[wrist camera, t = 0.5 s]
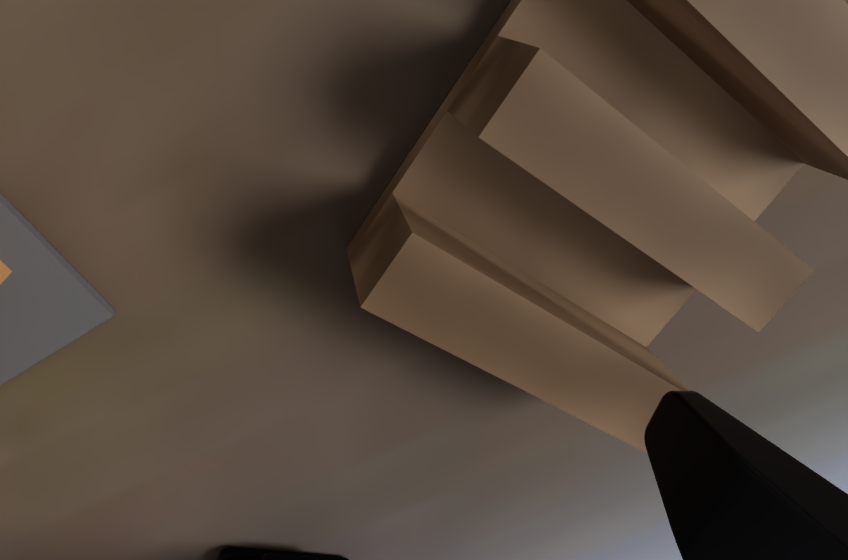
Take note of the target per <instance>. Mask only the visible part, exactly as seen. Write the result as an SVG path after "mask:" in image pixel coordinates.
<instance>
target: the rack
mask: <svg viewBox="0 0 848 560" xmlns="http://www.w3.org/2000/svg"><path fill="white" fill-rule="evenodd" d="M803 164H807V165H810V166H812V167H815V168H818V169H821V170H823V171H826V172H829V173H832V174H834V175H837V176H840V177H842V178H845V179H848V4H847V3H846V1H845V0H511V1H510V2H509V4H508V5H507V7H506V8H505V10H504V11H503V13H502V14H501V16H500V17H499V19H498V20H497V22H496V23H495V25H494V26H493V28H492V29H491V31H490V32H489V34H488V36H487V37H486V39H485V40H484V42H483V43H482V45H481V46H480V48H479V49H478V51H477V52H476V54H475V55H474V57H473V58H472V60H471V61H470V63H469V64H468V66H467V67H466V69H465V70H464V72H463V73H462V75H461V76H460V78H459V79H458V81H457V82H456V84H455V85H454V87H453V88H452V90H451V91H450V93H449V94H448V96H447V97H446V99H445V100H444V102H443V103H442V105H441V106H440V108H439V109H438V111H437V112H436V114H435V115H434V117H433V118H432V120H431V121H430V123H429V124H428V126H427V127H426V129H425V130H424V132H423V133H422V135H421V136H420V138H419V139H418V141H417V142H416V144H415V145H414V147H413V148H412V150H411V151H410V153H409V154H408V156H407V157H406V159H405V160H404V162H403V163H402V165H401V166H400V168H399V169H398V171H397V172H396V174H395V175H394V177H393V178H392V180H391V181H390V183H389V184H388V186H387V187H386V189H385V190H384V192H383V193H382V195H381V196H380V198H379V199H378V201H377V202H376V204H375V205H374V207H373V208H372V210H371V211H370V213H369V214H368V216H367V217H366V219H365V220H364V222H363V223H362V225H361V226H360V228H359V229H358V231H357V232H356V234H355V235H354V237H353V238H352V240H351V241H350V243H349V244H348V246H347V247H346V249H347V253H348V258H349V262H350V266H351V270H352V274H353V279H354V283H355V287H356V291H357V295H358V299H359V304H360V307H361V308H363V309H364V310H366V311H368V312H370V313H372V314H374V315H376V316H378V317H380V318H382V319H384V320H386V321H388V322H390V323H392V324H394V325H396V326H398V327H400V328H402V329H404V330H406V331H408V332H410V333H412V334H414V335H416V336H418V337H420V338H421V339H423V340H425V341H427V342H429V343H431V344H433V345H435V346H437V347H439V348H441V349H443V350H445V351H447V352H449V353H451V354H453V355H455V356H457V357H459V358H461V359H463V360H465V361H467V362H469V363H471V364H473V365H475V366H477V367H478V368H480V369H482V370H484V371H486V372H488V373H490V374H492V375H494V376H496V377H498V378H500V379H502V380H504V381H506V382H508V383H510V384H512V385H514V386H516V387H518V388H520V389H522V390H524V391H526V392H528V393H530V394H532V395H534V396H535V397H537V398H539V399H541V400H543V401H545V402H547V403H549V404H551V405H553V406H555V407H557V408H559V409H561V410H563V411H565V412H567V413H569V414H571V415H573V416H575V417H577V418H579V419H581V420H583V421H585V422H587V423H589V424H591V425H592V426H594V427H596V428H598V429H600V430H602V431H604V432H606V433H608V434H610V435H612V436H614V437H616V438H618V439H620V440H622V441H624V442H626V443H628V444H630V445H632V446H634V447H636V448H638V449H640V450H642V451H644V452H646V453H647V450H646V447H645V441H644V433H645V429H646V427H647V425H648V423H649V421H650V419H651V417H652V415H653V413H654V411H655V410H656V408H657V406H658V404H659V402H660V400H661V398H662V397H663V395H664V394H666V393H667V392H668V391H688V390H687V389H686V388H685V387H684V386H683V384H682V383H681V382H680V381H679V380H678V379H677V378H676V377H675V376H674V375H673V374H672V373H671V372H670V371H669V370H668V369H667V368H666V367H665V366H664V365H663V364H662V363H661V362H660V361H659V360H658V359H657V358H656V357H655V356H654V355H653V354H652V353H651V352H650V351H649V350H648V349H647V346H648V345H649V344H650V342H651V341H652V340H653V339H654V338H655V337H656V335H657V334H658V333H659V332H660V331H661V330H662V328H663V327H664V326H665V325H666V324H667V323H668V321H669V320H670V319H671V318H672V317H673V316H674V314H675V313H676V312H677V311H678V310H679V309H680V307H681V306H682V305H683V304H684V303H685V302H686V300H687V299H688V298H689V297H690V296H691V295H692V293H693V292H694V291H695V290H696V289H697V290H699V291H700V292H701V293H703V294H704V295H706V296H707V297H709V298H710V299H712V300H713V301H714V302H716V303H717V304H719V305H720V306H722V307H723V308H724V309H726V310H727V311H729V312H730V313H732V314H733V315H734V316H736V317H737V318H739V319H740V320H742V321H743V322H745V323H746V324H747V325H749V326H750V327H752V328H753V329H755V330H756V331H757V332H759V331H760V330H761V329H762V328H763V327H764V326H765V325H766V324H767V323H768V322H769V320H770V319H771V318H772V317H773V316H774V315H775V314H776V313H777V312H778V311H779V309H780V308H781V307H782V306H783V305H784V304H785V303H786V302H787V301H788V300H789V299H790V297H791V296H792V295H793V294H794V293H795V292H796V291H797V290H798V289H799V288H800V286H801V285H802V284H803V283H804V282H805V281H806V280H807V279H808V278H809V277H810V275H811V274H812V273H813V272H814V271H815V270H814V269H812V268H811V267H810V266H809V265H807V264H806V263H805V262H804V261H803V260H801V259H800V258H799V257H798V256H796V255H795V254H794V253H793V252H791V251H790V250H789V249H788V248H786V247H785V246H784V245H783V244H782V243H780V242H779V241H778V240H777V239H775V238H774V237H773V236H772V235H770V234H769V233H768V232H767V231H765V230H764V229H763V228H762V227H761V226H759V225H758V224H757V223H756V222H754V221H755V220H756V219H757V218H758V217H759V215H760V214H761V213H762V212H763V211H764V210H765V208H766V207H767V206H768V205H769V204H770V203H771V201H772V200H773V199H774V198H775V197H776V196H777V194H778V193H779V192H780V191H781V190H782V189H783V187H784V186H785V185H786V184H787V183H788V182H789V180H790V179H791V178H792V177H793V176H794V175H795V173H796V172H797V171H798V170H799V169H800V168H801V166H802V165H803Z"/></svg>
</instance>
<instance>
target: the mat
mask: <svg viewBox="0 0 848 560" xmlns="http://www.w3.org/2000/svg"><path fill="white" fill-rule="evenodd" d="M0 260H1V261H2V262H3V263H4V264H5V265H6V266H7V267H8V268H9V269H10V270H11V271H12V272H11V273H10V275H9V276H8V277H7V278H6V279H5V280H4V281H3V282H2V284H1V285H0V385H1V384H3V383H5V382H6V381H8V380H10V379H11V378H13V377H15V376H16V375H18V374H19V373H21V372H23V371H24V370H26V369H28V368H29V367H31V366H33V365H34V364H36V363H37V362H39V361H41V360H42V359H44V358H46V357H47V356H49V355H51V354H52V353H54V352H55V351H57V350H59V349H60V348H62V347H64V346H65V345H67V344H68V343H70V342H72V341H73V340H75V339H77V338H78V337H80V336H82V335H83V334H85V333H86V332H88V331H90V330H91V329H93V328H95V327H96V326H98V325H100V324H101V323H103V322H104V321H106V320H108V319H109V318H111V317H113V315H114V313H115V310H114V309H113V308H112V307H111V306H110V305H109V304H108V303H107V302H106V301H105V300H104V299H103V298H102V297H101V296H100V295H99V294H98V293H97V292H96V291H95V290H94V289H93V288H92V287H91V286H90V285H89V284H88V283H87V282H86V281H85V280H84V279H83V278H82V276H81V275H80V274H79V273H78V272H77V271H76V270H75V269H74V268H73V267H72V266H71V265H70V264H69V263H68V262H67V261H66V260H65V259H64V258H63V257H62V256H61V255H60V254H59V253H58V252H57V251H56V250H55V249H54V248H53V247H52V246H51V245H50V244H49V243H48V242H47V240H46V239H45V238H44V237H43V236H42V235H41V234H40V233H39V232H38V231H37V230H36V229H35V228H34V227H33V226H32V225H31V224H30V223H29V222H28V221H27V220H26V219H25V218H24V217H23V216H22V215H21V214H20V213H19V212H18V211H17V210H16V209H15V208H14V207H13V205H12V204H11V203H10V202H9V201H8V200H7V199H6V198H5V197H4V196H3V195H2V194H1V193H0Z"/></svg>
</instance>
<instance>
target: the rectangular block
mask: <svg viewBox="0 0 848 560" xmlns="http://www.w3.org/2000/svg"><path fill="white" fill-rule="evenodd" d="M11 272H12V271H11V270H10V269H9V268H8V267H7V266H6V265H5V264H4V263H3V262H2V261H1V260H0V285H1V284H2V282H3V281H4V280H5V279H6V278H7V277H8V276H9V275H10V273H11Z"/></svg>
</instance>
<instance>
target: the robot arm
mask: <svg viewBox="0 0 848 560" xmlns="http://www.w3.org/2000/svg"><path fill="white" fill-rule="evenodd" d="M644 441H645V447H646V450H647V453H648V456H649V459H650V463H651V466H652V469H653V472H654V475H655V478H656V482H657V485H658V488H659V491H660V494H661V497H662V501H663V504H664V507H665V510H666V513H667V516H668V520H669V523H670V526H671V529H672V532H673V535H674V537H675V540H676V543H677V546H678V548H679V551H680V553H681V556H682V558H683V560H848V494H847V493H845V492H844V491H842V490H841V489H839V488H838V487H836V486H835V485H833V484H832V483H830V482H829V481H827V480H826V479H824V478H823V477H821V476H820V475H818V474H817V473H816V472H814V471H813V470H811V469H810V468H808V467H807V466H805V465H804V464H802V463H801V462H799V461H798V460H796V459H795V458H793V457H792V456H790V455H789V454H788V453H786V452H785V451H783V450H782V449H780V448H779V447H777V446H776V445H774V444H773V443H771V442H770V441H768V440H767V439H765V438H764V437H762V436H761V435H759V434H758V433H757V432H755V431H754V430H752V429H751V428H749V427H748V426H746V425H745V424H743V423H742V422H740V421H739V420H737V419H736V418H734V417H733V416H731V415H730V414H729V413H727V412H726V411H724V410H723V409H721V408H720V407H718V406H717V405H715V404H714V403H712V402H711V401H709V400H708V399H706V398H705V397H703V396H702V395H701V394H699V393H697V392H694V391H668V392H667V393H666V394H664V395H663V397H662V398H661V400H660V402H659V404H658V406H657V408H656V410H655V411H654V413H653V415H652V417H651V419H650V421H649V423H648V425H647V427H646V429H645V433H644ZM227 558H232V559H227ZM217 560H349V559H347V558H343V557H332V556H321V555H310V554H299V553H288V552H277V551H266V550H255V549H244V548H233V547H229V548H225V549H223V550H221V551H220V553H219V555H218V558H217Z"/></svg>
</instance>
